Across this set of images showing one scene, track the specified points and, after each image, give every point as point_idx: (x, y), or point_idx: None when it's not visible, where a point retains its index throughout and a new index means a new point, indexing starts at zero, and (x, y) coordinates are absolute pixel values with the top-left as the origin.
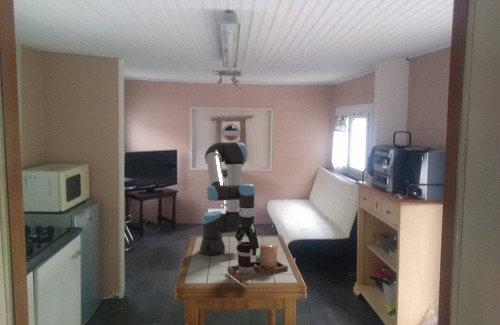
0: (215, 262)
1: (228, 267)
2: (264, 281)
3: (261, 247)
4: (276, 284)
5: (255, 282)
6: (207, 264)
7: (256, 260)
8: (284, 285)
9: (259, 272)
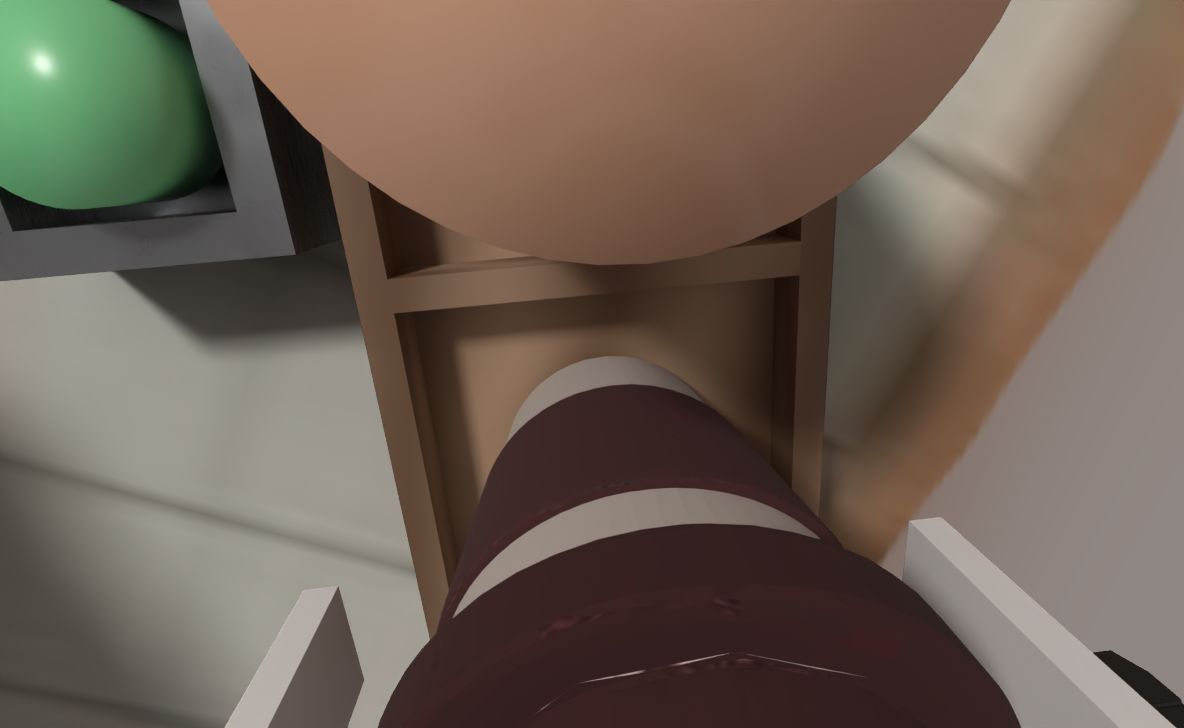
0: (21, 629)
1: None
2: (894, 306)
3: (661, 256)
4: (1061, 204)
5: (858, 417)
6: (85, 720)
7: (286, 159)
8: (1155, 116)
9: (826, 354)
